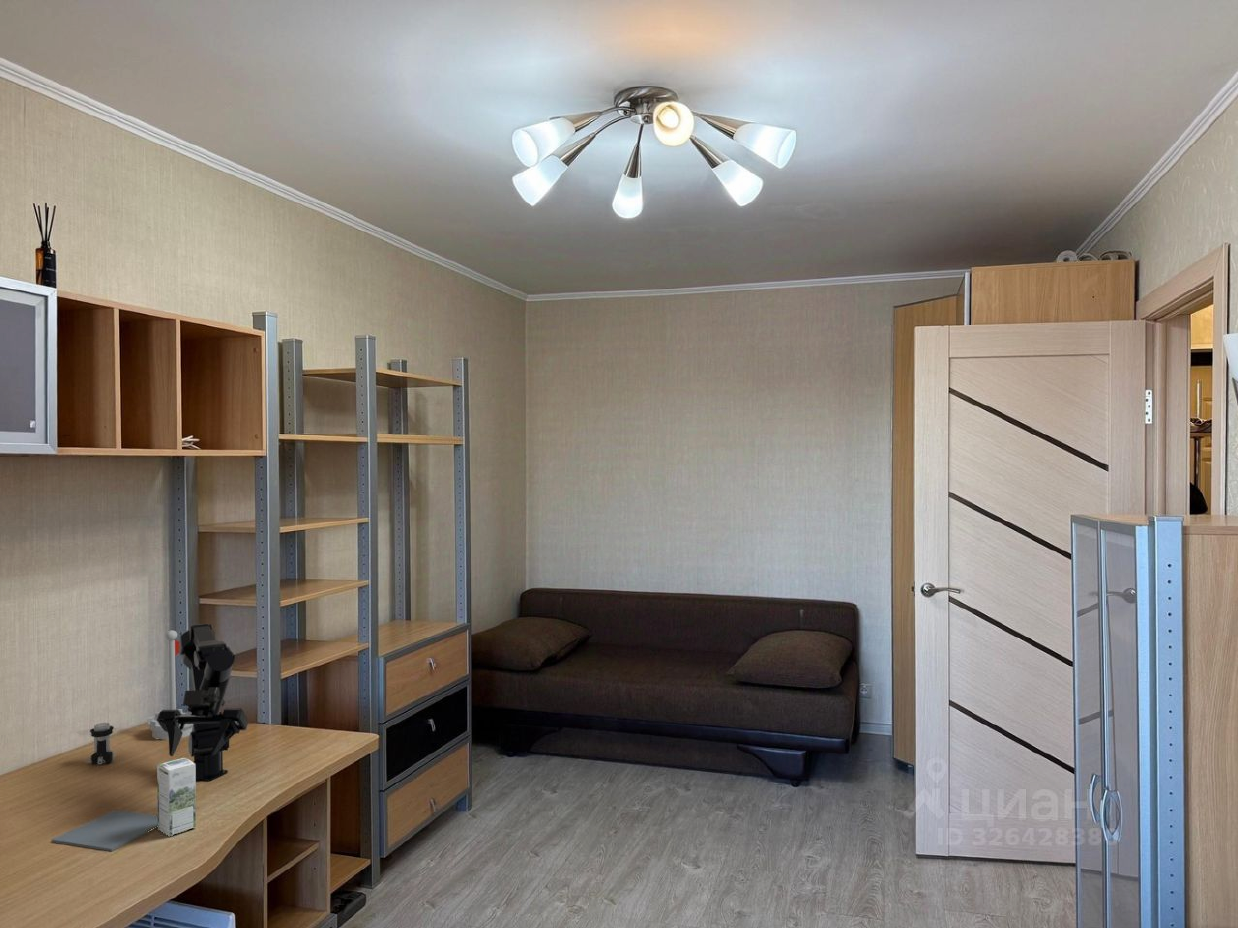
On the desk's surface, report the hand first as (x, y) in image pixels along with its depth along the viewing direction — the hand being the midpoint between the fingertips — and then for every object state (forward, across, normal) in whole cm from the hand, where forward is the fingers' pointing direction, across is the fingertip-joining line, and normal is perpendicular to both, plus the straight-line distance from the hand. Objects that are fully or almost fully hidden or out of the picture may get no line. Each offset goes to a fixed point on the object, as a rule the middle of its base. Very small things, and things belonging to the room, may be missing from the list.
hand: (191, 754), depth 197 cm
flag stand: (-32, -32, +52) cm, 69 cm away
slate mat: (+15, -14, +5) cm, 20 cm away
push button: (-16, -40, +35) cm, 56 cm away
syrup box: (+15, 0, +4) cm, 16 cm away
